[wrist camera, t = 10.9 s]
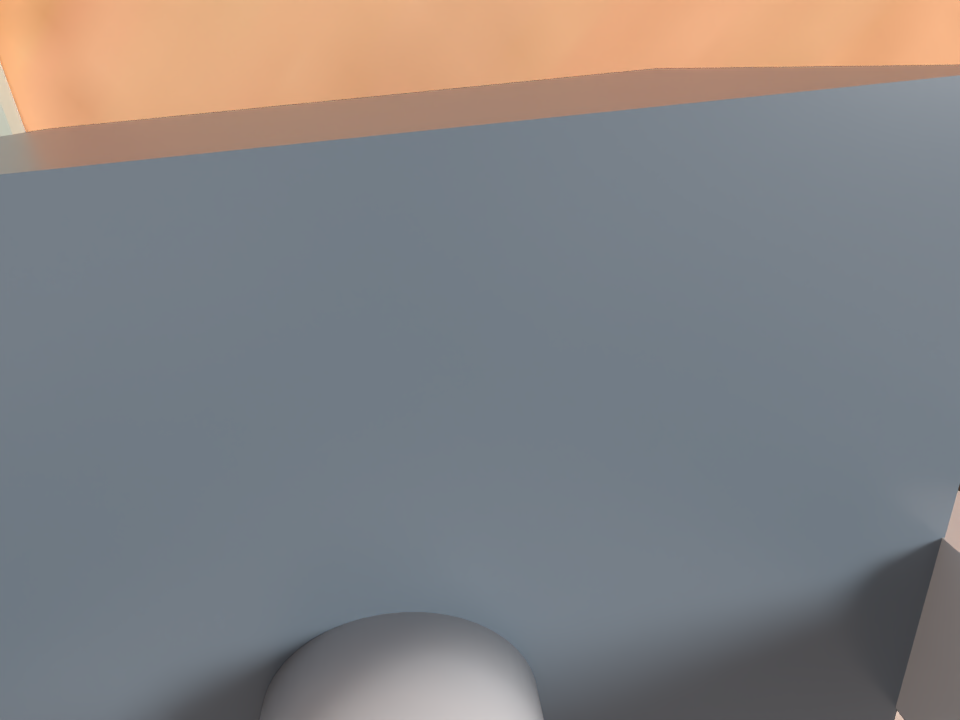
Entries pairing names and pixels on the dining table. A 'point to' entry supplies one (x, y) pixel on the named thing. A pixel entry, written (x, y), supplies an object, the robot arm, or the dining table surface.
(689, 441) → the cover
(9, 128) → the mat
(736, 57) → the dining table surface
